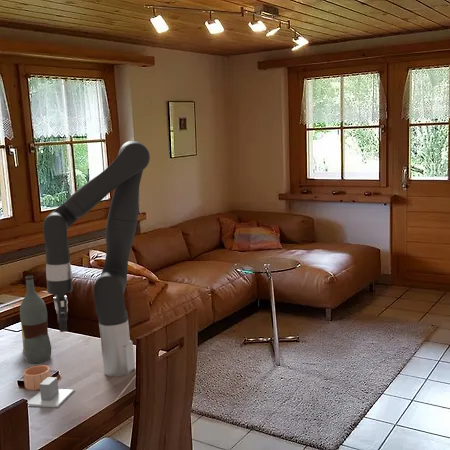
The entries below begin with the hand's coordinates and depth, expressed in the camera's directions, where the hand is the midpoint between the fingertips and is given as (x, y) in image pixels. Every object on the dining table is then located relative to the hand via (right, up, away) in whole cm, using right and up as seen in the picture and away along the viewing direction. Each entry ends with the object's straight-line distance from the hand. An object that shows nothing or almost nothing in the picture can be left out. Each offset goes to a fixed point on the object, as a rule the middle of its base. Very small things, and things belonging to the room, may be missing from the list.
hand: (62, 327), depth 184 cm
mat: (-1, -20, -10) cm, 22 cm away
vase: (-20, -14, +33) cm, 41 cm away
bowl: (-8, -18, +1) cm, 20 cm away
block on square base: (-1, -19, -10) cm, 22 cm away
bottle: (-14, -15, +23) cm, 31 cm away
